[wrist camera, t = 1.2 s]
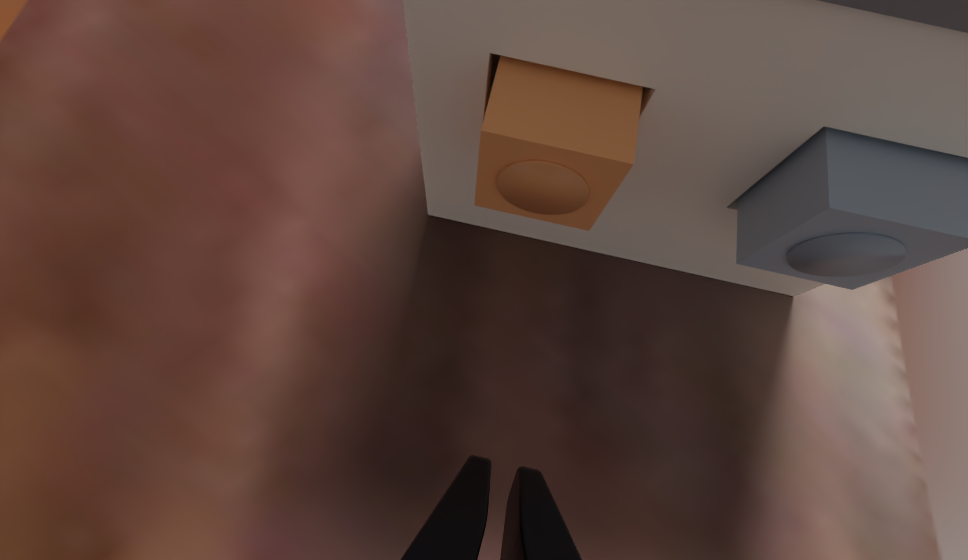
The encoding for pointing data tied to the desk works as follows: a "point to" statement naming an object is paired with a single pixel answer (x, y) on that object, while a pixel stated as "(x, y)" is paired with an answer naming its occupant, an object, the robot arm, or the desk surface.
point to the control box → (691, 103)
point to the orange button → (555, 142)
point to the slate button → (854, 210)
